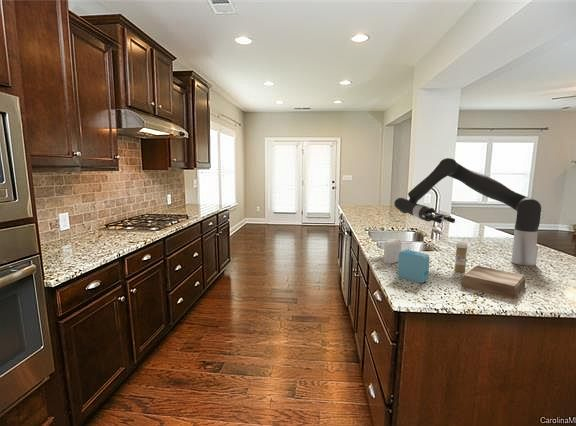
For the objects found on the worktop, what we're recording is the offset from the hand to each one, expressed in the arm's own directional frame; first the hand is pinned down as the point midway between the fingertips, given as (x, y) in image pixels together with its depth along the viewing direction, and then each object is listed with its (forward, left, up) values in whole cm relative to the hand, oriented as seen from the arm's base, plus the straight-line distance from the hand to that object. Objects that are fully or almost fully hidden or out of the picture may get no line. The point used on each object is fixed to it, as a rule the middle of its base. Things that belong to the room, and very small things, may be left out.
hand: (447, 221), depth 151 cm
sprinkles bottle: (-2, +9, -23) cm, 24 cm away
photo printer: (+25, -6, -23) cm, 34 cm away
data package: (+25, +19, -23) cm, 38 cm away
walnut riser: (-4, +29, -22) cm, 37 cm away
